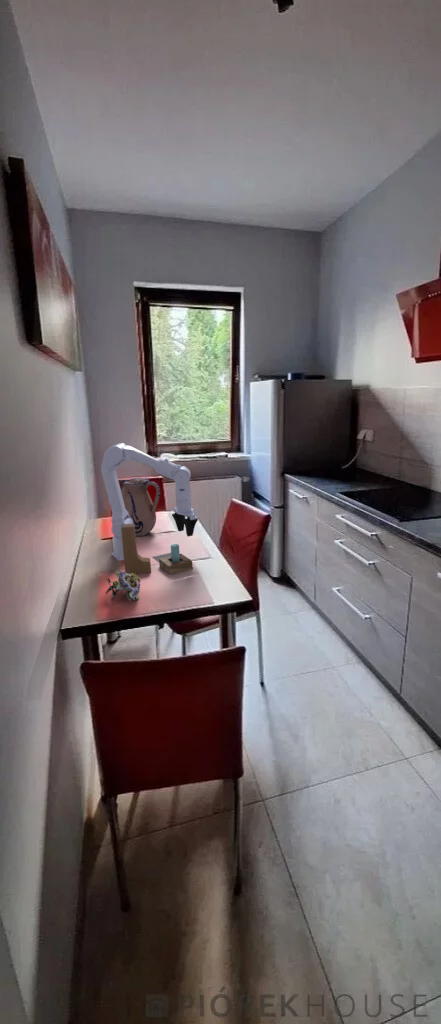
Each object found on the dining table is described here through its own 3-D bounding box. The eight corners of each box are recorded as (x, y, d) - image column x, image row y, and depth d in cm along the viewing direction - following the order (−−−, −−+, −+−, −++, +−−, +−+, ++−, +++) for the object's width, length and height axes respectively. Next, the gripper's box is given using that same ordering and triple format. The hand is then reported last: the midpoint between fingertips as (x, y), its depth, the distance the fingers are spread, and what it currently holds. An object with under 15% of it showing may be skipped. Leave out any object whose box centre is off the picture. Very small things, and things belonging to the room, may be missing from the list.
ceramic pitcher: (126, 527, 205) (121, 476, 199) (168, 528, 202) (165, 476, 196) (112, 539, 189) (107, 484, 182) (158, 540, 186) (154, 484, 179)
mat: (152, 558, 166) (152, 557, 166) (170, 553, 170) (170, 552, 170) (160, 564, 160) (160, 563, 159) (179, 559, 164) (179, 558, 163)
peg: (170, 568, 156) (169, 545, 153) (178, 566, 157) (176, 543, 155) (174, 571, 153) (172, 547, 151) (181, 569, 155) (180, 545, 152)
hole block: (159, 567, 157) (159, 558, 156) (181, 562, 161) (181, 553, 160) (170, 575, 149) (169, 566, 148) (192, 569, 154) (192, 560, 153)
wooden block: (150, 568, 156) (147, 522, 151) (151, 573, 152) (147, 525, 147) (125, 571, 154) (121, 524, 149) (125, 576, 150) (120, 527, 145)
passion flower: (137, 615, 134) (139, 596, 125) (102, 612, 132) (102, 593, 124) (141, 583, 142) (143, 564, 133) (107, 580, 140) (108, 560, 131)
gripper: (202, 501, 157) (203, 536, 161) (184, 494, 169) (185, 526, 173) (185, 504, 153) (187, 539, 157) (168, 496, 165) (170, 530, 169)
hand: (185, 533), depth 165 cm, fingers open, 7 cm apart
